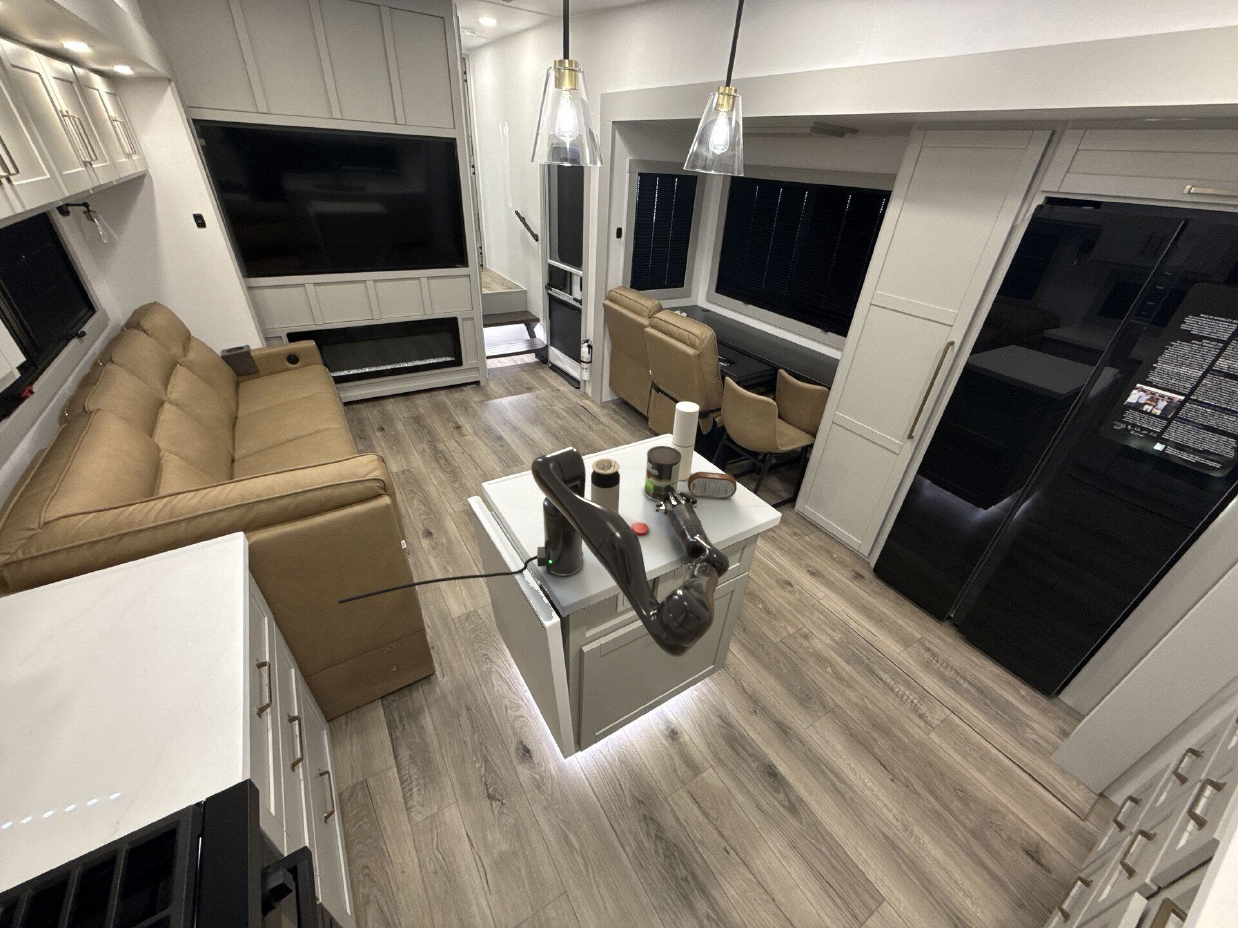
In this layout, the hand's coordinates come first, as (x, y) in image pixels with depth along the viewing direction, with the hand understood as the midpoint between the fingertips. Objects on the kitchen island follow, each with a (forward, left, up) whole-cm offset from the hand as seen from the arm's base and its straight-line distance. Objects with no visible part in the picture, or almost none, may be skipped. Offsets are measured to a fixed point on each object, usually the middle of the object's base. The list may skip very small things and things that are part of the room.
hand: (667, 487), depth 144 cm
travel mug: (-19, -5, -6) cm, 21 cm away
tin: (+15, +3, -6) cm, 16 cm away
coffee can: (-1, +6, -6) cm, 9 cm away
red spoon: (-14, -13, -6) cm, 20 cm away
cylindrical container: (+8, +16, -6) cm, 19 cm away
